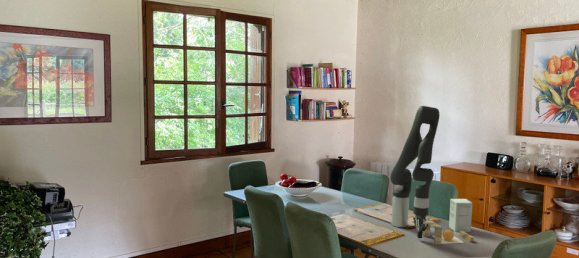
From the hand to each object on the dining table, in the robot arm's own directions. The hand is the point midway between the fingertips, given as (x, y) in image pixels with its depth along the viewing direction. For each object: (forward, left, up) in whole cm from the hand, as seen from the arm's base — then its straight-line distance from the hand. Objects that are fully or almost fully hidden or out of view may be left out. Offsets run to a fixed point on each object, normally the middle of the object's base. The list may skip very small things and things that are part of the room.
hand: (419, 237), depth 239 cm
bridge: (0, +7, -2) cm, 7 cm away
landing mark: (0, +16, -2) cm, 16 cm away
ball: (+1, +16, +1) cm, 16 cm away
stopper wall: (0, +27, -2) cm, 27 cm away
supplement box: (-16, +32, -2) cm, 36 cm away
